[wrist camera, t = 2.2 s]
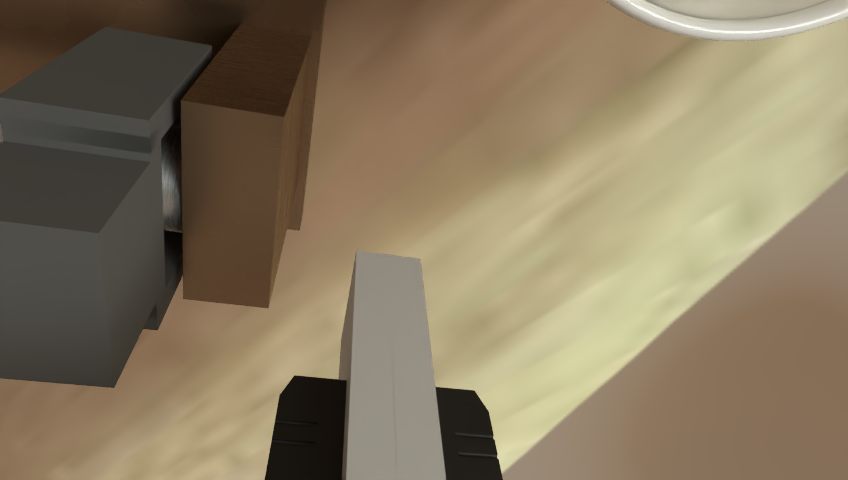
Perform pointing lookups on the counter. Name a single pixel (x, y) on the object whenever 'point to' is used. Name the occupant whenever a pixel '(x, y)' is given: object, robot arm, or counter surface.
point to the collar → (89, 205)
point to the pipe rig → (209, 122)
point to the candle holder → (734, 17)
